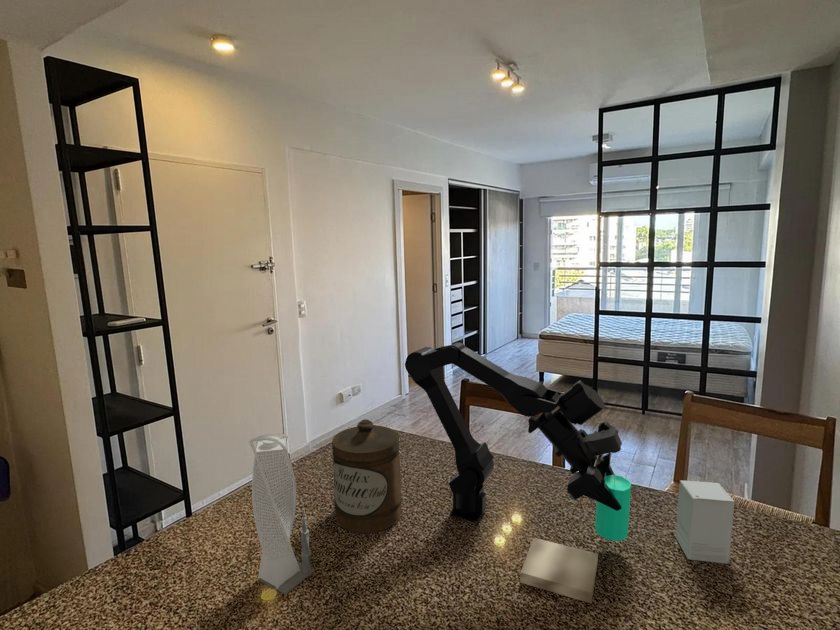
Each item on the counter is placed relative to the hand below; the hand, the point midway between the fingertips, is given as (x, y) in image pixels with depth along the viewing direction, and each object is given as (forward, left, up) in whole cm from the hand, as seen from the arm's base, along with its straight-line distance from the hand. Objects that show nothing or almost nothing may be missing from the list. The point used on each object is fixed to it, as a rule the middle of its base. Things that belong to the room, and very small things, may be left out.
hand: (620, 501), depth 91 cm
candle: (-1, 0, -7) cm, 7 cm away
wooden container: (-51, -9, -11) cm, 53 cm away
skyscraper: (-55, -33, -11) cm, 65 cm away
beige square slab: (-9, -11, -10) cm, 18 cm away
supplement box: (+15, +7, -11) cm, 19 cm away
